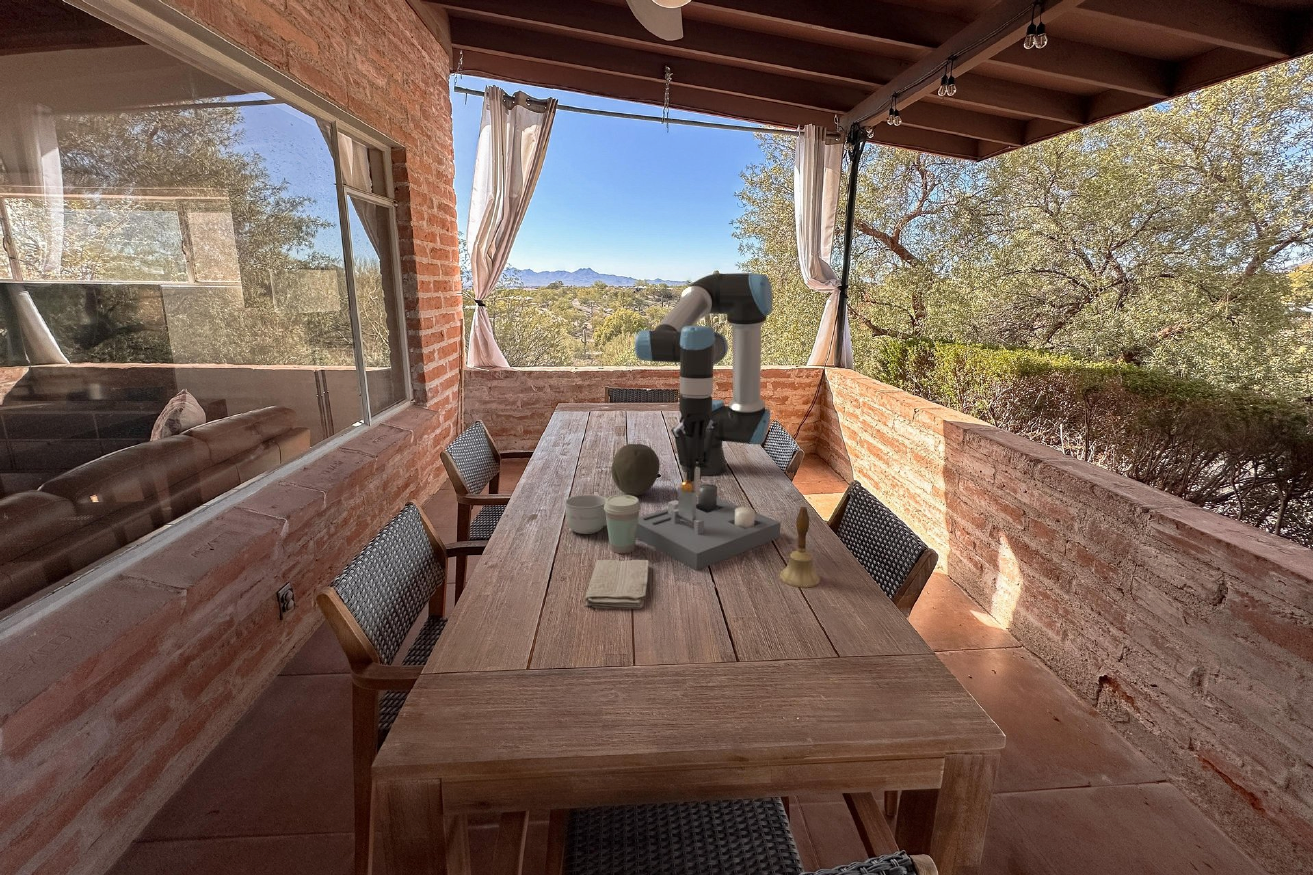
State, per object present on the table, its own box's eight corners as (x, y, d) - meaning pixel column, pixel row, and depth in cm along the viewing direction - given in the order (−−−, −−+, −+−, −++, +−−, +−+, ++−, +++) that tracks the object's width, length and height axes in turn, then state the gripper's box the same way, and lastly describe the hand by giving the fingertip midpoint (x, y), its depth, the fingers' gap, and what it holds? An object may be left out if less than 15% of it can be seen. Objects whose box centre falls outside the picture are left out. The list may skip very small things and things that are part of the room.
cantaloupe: (658, 502, 166) (659, 451, 162) (609, 501, 166) (608, 451, 162) (659, 485, 179) (660, 439, 176) (614, 485, 180) (613, 438, 176)
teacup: (556, 532, 145) (555, 502, 143) (582, 518, 154) (581, 489, 152) (604, 544, 138) (603, 512, 136) (627, 528, 148) (627, 498, 146)
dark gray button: (707, 502, 155) (708, 482, 153) (720, 507, 151) (721, 487, 150) (694, 506, 152) (695, 486, 150) (707, 512, 148) (707, 491, 147)
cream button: (743, 526, 146) (744, 505, 144) (757, 532, 142) (759, 511, 141) (730, 531, 143) (730, 510, 141) (744, 537, 139) (745, 515, 138)
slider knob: (675, 511, 148) (675, 500, 147) (681, 514, 146) (681, 502, 146) (668, 513, 147) (668, 502, 146) (674, 516, 145) (674, 505, 144)
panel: (711, 509, 161) (712, 485, 159) (779, 537, 143) (781, 510, 141) (630, 534, 144) (630, 508, 142) (696, 570, 126) (697, 540, 124)
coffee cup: (636, 557, 131) (635, 508, 128) (599, 554, 133) (599, 505, 130) (644, 542, 140) (644, 495, 137) (610, 538, 141) (609, 492, 138)
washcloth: (583, 611, 111) (583, 596, 110) (595, 567, 128) (595, 554, 127) (646, 612, 110) (646, 597, 110) (649, 568, 128) (649, 555, 127)
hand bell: (791, 590, 118) (796, 517, 114) (772, 571, 126) (777, 502, 122) (827, 585, 120) (834, 513, 116) (807, 567, 128) (812, 499, 124)
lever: (682, 515, 142) (682, 476, 139) (700, 523, 137) (700, 483, 134) (674, 519, 140) (673, 478, 137) (692, 527, 135) (691, 486, 132)
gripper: (704, 390, 138) (702, 484, 144) (663, 395, 131) (662, 494, 136) (727, 394, 133) (723, 491, 138) (686, 400, 125) (684, 503, 131)
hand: (693, 493), depth 137 cm, fingers closed
